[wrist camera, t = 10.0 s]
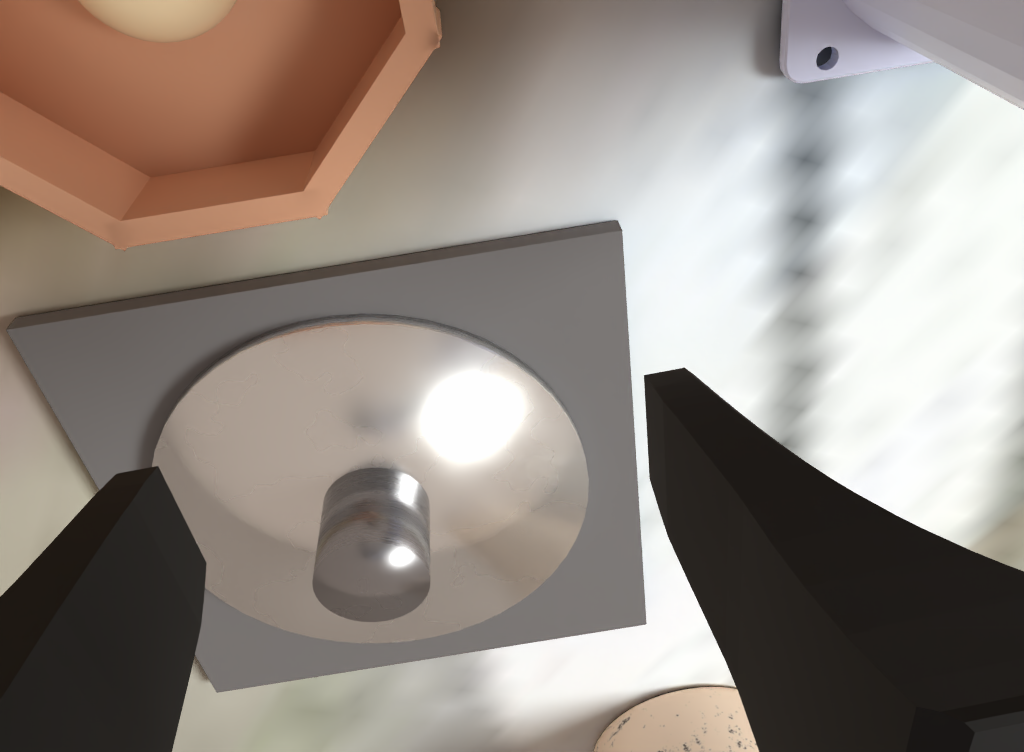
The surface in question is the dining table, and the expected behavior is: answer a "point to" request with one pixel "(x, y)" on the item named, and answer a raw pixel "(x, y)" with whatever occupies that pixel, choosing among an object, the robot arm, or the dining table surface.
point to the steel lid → (374, 477)
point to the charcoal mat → (395, 291)
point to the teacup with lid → (682, 724)
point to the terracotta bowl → (198, 107)
